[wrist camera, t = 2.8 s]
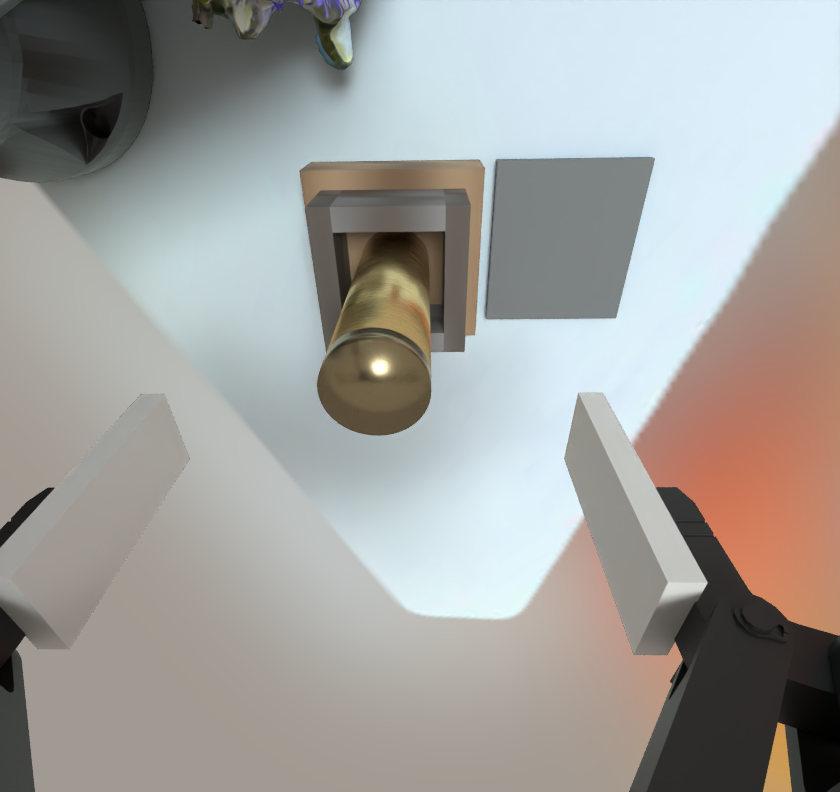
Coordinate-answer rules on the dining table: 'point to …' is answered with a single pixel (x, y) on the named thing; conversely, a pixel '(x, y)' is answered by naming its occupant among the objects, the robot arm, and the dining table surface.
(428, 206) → the open box with base
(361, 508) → the dining table surface
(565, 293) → the rubber pad
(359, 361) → the brass cylinder
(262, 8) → the passion flower
